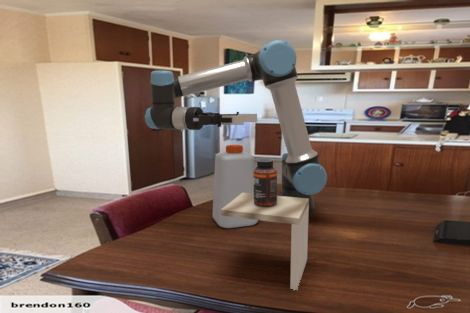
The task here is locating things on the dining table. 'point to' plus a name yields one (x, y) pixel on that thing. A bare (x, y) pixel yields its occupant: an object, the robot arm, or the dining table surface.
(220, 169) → the plastic bottle
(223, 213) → the cream l-shaped stand
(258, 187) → the supplement bottle
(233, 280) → the dining table surface
